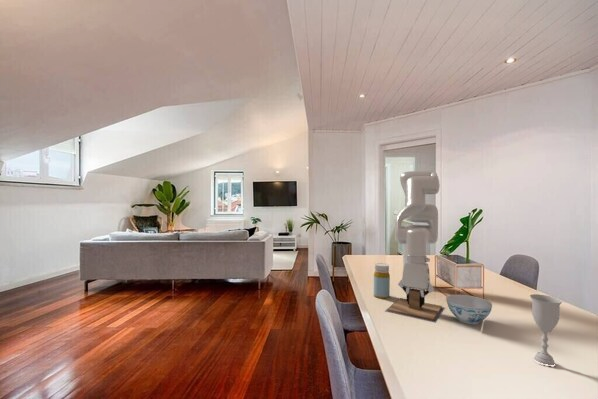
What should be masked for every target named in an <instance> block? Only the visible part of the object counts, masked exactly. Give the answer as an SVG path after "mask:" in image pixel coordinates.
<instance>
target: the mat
mask: <svg viewBox="0 0 598 399" xmlns="http://www.w3.org/2000/svg"><path fill="white" fill-rule="evenodd" d="M399 299H400V298H398V299H397V300H396V301H398V300H399ZM394 303H395V302H393V303H392V304H391V305H390V306H389V307H388V308H390V307H391V306H392V305H393V304H394ZM388 308H386V309H385V310H384V312H385V313H386V312H387V313H390V314H395V315H399V316H404V317H408V318H413V319H418V320H422V321H426V322H431V323H437V321H438V319H439V318H440V317H441V315H442V313H443V311H444V310H445V309H446V307H443V306H442V309H441V310H440V312H439V313H438V315H437V316H436V318H435V319H434V321H430V320H426V319H421V318H417V317H412V316H408V315H403V314H399V313H394V312H390V311H388Z"/></svg>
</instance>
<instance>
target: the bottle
mask: <svg viewBox="0 0 598 399" xmlns="http://www.w3.org/2000/svg"><path fill="white" fill-rule="evenodd" d="M390 276H391V275H390V265H389V264H387V263H382V262H381V263H379V262H378V263H376V262H375V263H374V273H373V296H374V297H375V298H377V299H383V300H387V299H389V298H390V296H391V295H390V292H391V291H390V286H391V284H390V280H391V278H390ZM374 297H373V298H374Z"/></svg>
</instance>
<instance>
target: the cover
mask: <svg viewBox="0 0 598 399" xmlns="http://www.w3.org/2000/svg"><path fill="white" fill-rule="evenodd" d="M420 296H421V293H420V289H416V288H411V289H410V290H409V304H408V301H406V299H407V298H404V297H400V298H398V299H399V300H398V299H397V300H398V301H397V300H396V301H395V302H393V303H394V304H393V303H392V304H393V305H392V304H391V305H392V306H391V305H390V306H391V307H390V306H389V307H390V308H389V307H388V308H387V309H388V311H390V312H394V313H399V314H403V315H408V316H412V317H417V318H421V319H426V320H430V321H434V319H435V318H436V316H437V315H438V313H439V312H440V310H441V309H442V307H443V305H440V304H434V303H428V302H425V303H424V305H423V306H422V307H420ZM390 312H389V313H390ZM394 313H393V314H394ZM399 314H398V315H399ZM403 315H402V316H403ZM412 317H411V318H412ZM421 319H420V320H421ZM430 321H429V322H430Z"/></svg>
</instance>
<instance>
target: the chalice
mask: <svg viewBox="0 0 598 399" xmlns="http://www.w3.org/2000/svg"><path fill="white" fill-rule="evenodd" d="M529 297H530V299H531V300H532V302H531V303H532V304H531V305H532V306H531V307H532V308H531V315H532V318H533V320H534V322H535V324H536V326H537V328H538V330H539V331H541V332H542V336H541V339H542V343H541V344H540V345H541V346H542V350H541V351H539V352H537V353H536V354H535V355H534V357H533V359H535V360H536V361H538V362H540V363H543V364H548V365H554V364H556V363H555V360H554V358H553V356H552V355H551V354H550V353H549V352H548V348H549V344H548V341H549V337H548V333H552V332H553V331H554V329H555V327H556V326H557V325H558V322H559V320H560V308H561V307H560V305H561V304H562V303H563V301H562V299H560V298H558V297H555V296H550V295H545V294H530V295H529Z"/></svg>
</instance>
